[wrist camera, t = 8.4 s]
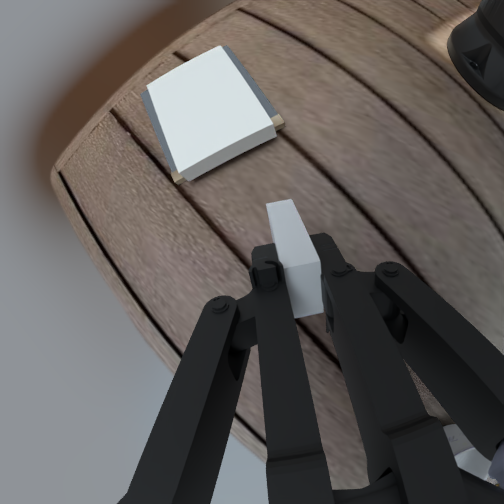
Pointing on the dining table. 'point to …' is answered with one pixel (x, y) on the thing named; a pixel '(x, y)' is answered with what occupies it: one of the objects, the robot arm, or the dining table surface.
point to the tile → (208, 113)
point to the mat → (156, 123)
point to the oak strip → (278, 125)
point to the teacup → (466, 453)
